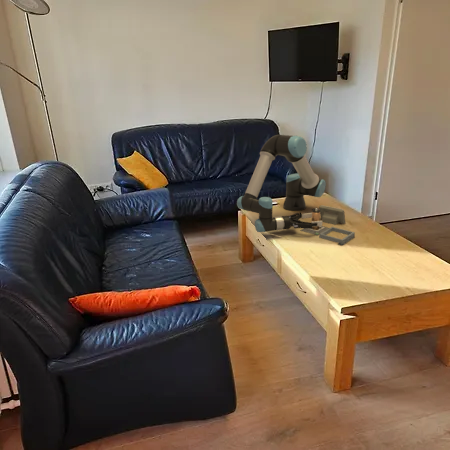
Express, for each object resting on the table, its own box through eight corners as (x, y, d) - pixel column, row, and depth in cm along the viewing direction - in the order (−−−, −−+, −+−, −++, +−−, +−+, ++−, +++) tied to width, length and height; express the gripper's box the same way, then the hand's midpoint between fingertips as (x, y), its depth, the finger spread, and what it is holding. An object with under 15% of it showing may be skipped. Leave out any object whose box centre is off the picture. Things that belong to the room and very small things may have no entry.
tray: (331, 231, 230) (332, 226, 229) (354, 237, 221) (354, 232, 220) (319, 239, 220) (319, 234, 219) (342, 245, 211) (342, 240, 210)
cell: (313, 227, 234) (315, 206, 230) (320, 229, 231) (321, 208, 227) (309, 229, 231) (310, 208, 226) (316, 231, 228) (317, 210, 224)
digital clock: (346, 224, 239) (348, 208, 235) (337, 228, 234) (338, 211, 230) (325, 218, 251) (326, 202, 247) (315, 221, 246) (316, 205, 242)
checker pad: (312, 225, 240) (312, 222, 239) (330, 229, 232) (330, 226, 232) (299, 232, 231) (299, 228, 230) (317, 237, 223) (318, 233, 222)
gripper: (275, 221, 238) (308, 217, 241) (289, 237, 215) (326, 232, 219) (275, 209, 235) (308, 206, 239) (290, 224, 212) (326, 220, 216)
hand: (317, 218), depth 229 cm, fingers open, 13 cm apart
